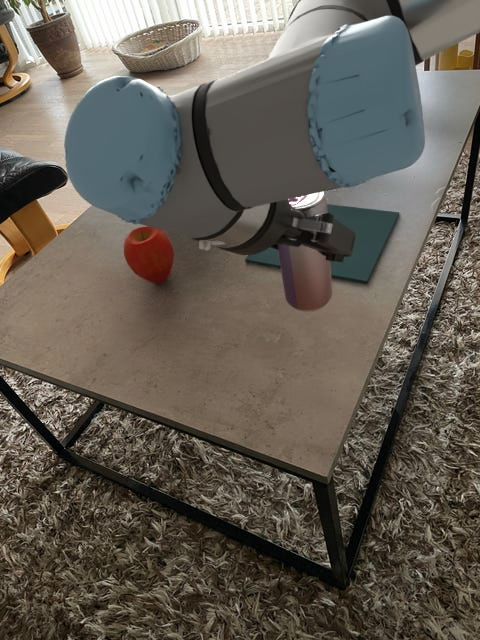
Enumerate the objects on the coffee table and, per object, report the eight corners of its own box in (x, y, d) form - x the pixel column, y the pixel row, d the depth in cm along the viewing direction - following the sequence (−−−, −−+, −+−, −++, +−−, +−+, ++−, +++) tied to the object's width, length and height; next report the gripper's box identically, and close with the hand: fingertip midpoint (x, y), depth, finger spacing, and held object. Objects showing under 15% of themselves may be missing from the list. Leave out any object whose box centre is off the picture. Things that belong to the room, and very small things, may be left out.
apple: (127, 286, 88) (105, 237, 80) (161, 260, 92) (144, 211, 84) (157, 303, 83) (137, 252, 76) (192, 275, 87) (176, 224, 79)
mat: (399, 214, 89) (399, 212, 89) (367, 284, 78) (367, 281, 77) (289, 202, 99) (288, 199, 98) (245, 262, 87) (244, 259, 87)
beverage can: (277, 306, 62) (259, 204, 52) (300, 278, 65) (288, 176, 55) (318, 319, 59) (308, 214, 49) (340, 289, 62) (336, 185, 52)
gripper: (133, 234, 44) (243, 265, 65) (332, 267, 36) (386, 290, 57) (148, 152, 44) (254, 209, 65) (353, 166, 36) (400, 226, 56)
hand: (316, 247), depth 61 cm, fingers closed on beverage can, 6 cm apart
